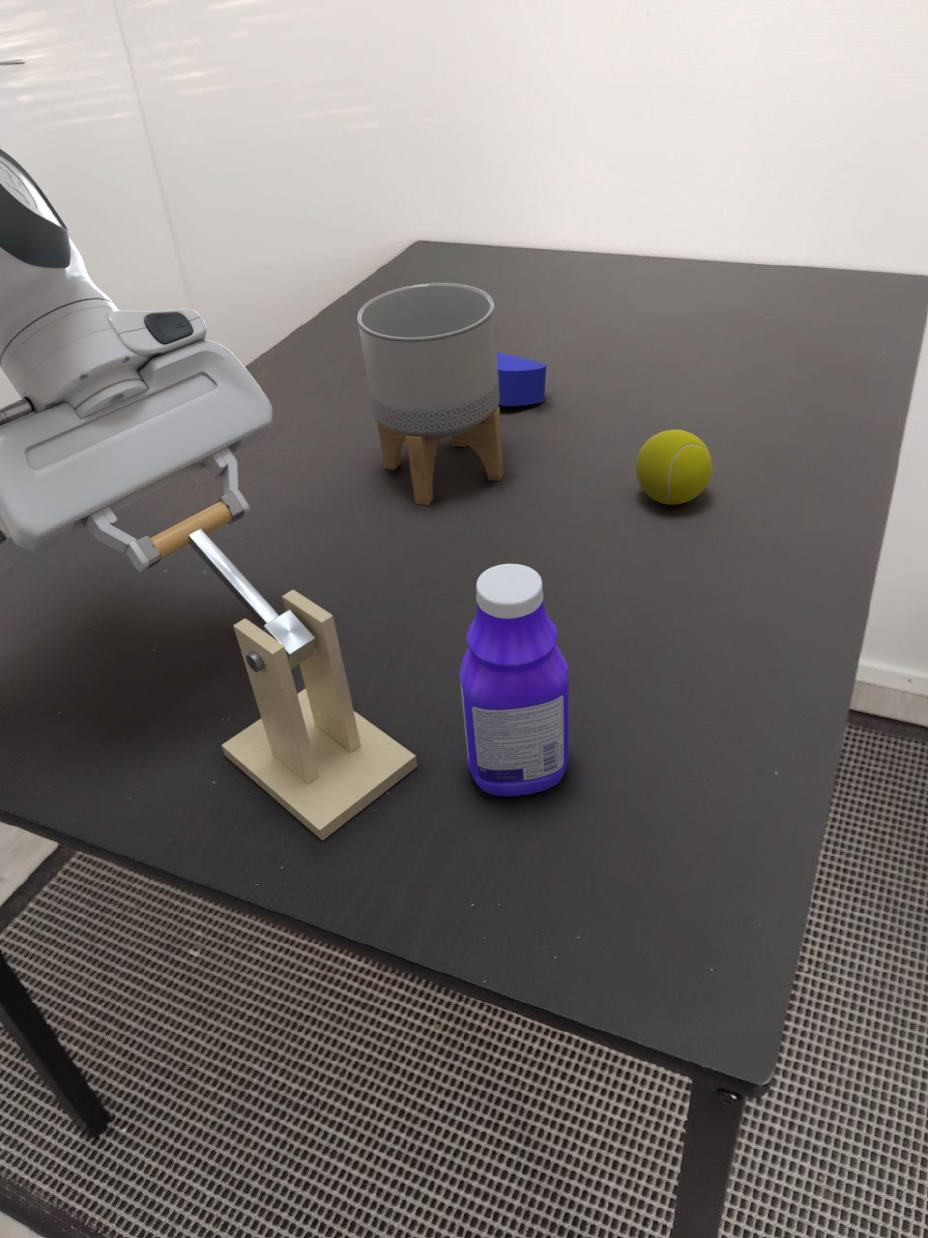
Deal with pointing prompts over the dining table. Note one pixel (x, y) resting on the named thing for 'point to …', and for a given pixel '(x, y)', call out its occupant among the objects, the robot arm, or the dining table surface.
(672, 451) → the tennis ball
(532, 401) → the toy
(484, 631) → the bottle
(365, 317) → the planter
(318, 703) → the bracket
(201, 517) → the lever
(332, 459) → the dining table surface
